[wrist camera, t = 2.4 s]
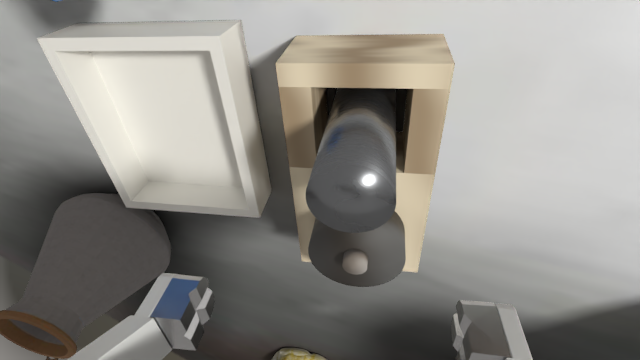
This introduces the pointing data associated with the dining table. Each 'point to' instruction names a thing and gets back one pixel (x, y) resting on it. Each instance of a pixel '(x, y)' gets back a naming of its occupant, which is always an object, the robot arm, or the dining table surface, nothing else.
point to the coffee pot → (85, 271)
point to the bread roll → (296, 354)
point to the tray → (168, 112)
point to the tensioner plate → (411, 145)
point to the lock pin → (356, 162)
